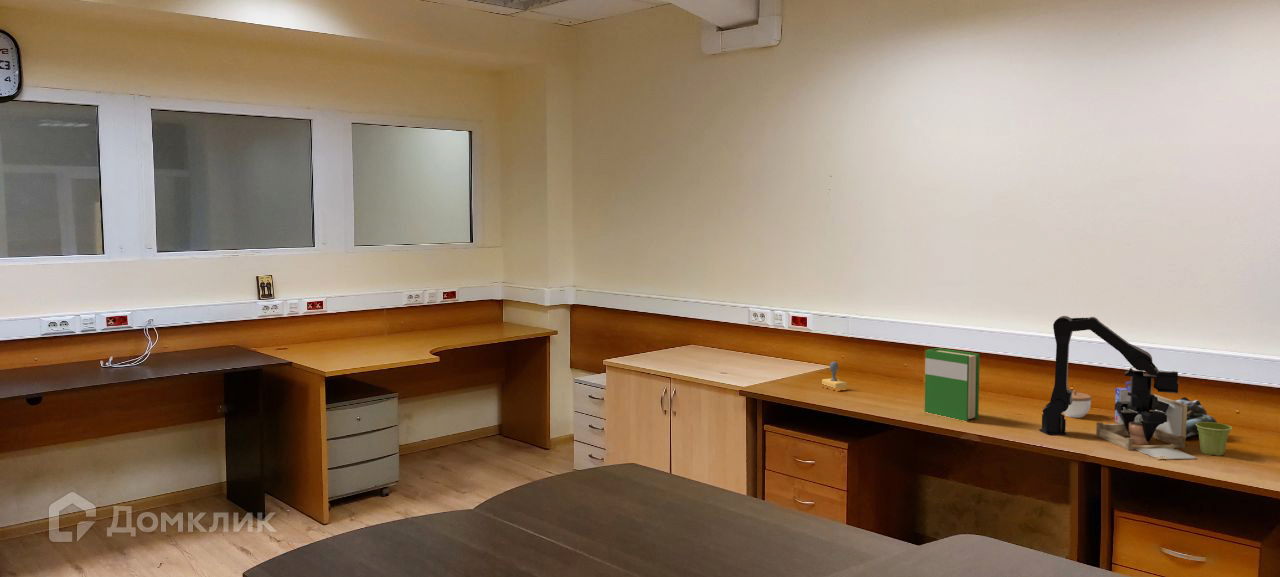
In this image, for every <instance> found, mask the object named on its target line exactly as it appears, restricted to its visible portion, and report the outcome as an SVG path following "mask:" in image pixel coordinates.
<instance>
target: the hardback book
mask: <svg viewBox="0 0 1280 577" xmlns="http://www.w3.org/2000/svg"><path fill="white" fill-rule="evenodd" d="M980 357H981V356H980V353H975V352H968V351H961V350H957V349H956V350H955V349H954V350H953V349H947V348H940V347H937V348H930V349H925V359H924V360H925V364H924V365H925V368H924V369H925V370H924V371H925V372H924V376H925V377H924V413H925V412H928V413H932V414H937V415H941V416H946V417H950V418H955V419H959V420H964V421H968V422H969V420H970V419H973V418H976V419H975V420H979V409H980V407H979V406H980V405H979V403H980V399H979V398H980V362H981V360H980ZM959 420H958V421H959Z"/></svg>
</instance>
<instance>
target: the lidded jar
mask: <svg viewBox="0 0 1280 577" xmlns="http://www.w3.org/2000/svg"><path fill="white" fill-rule="evenodd" d="M1072 400H1073V401H1072V403H1071V405H1069V407H1068V409H1067V410H1066V411H1065V412H1062V414H1063V415H1065V417H1067V416H1068V418H1074V419H1075V418H1076V419H1081V418H1084V416H1086V415H1087V414H1088V412H1089V411H1090V408H1091V405H1092V403H1091V402H1092V396H1091V395H1090V394H1087V393H1083V392H1077V390H1073V393H1072Z"/></svg>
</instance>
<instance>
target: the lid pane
mask: <svg viewBox="0 0 1280 577" xmlns="http://www.w3.org/2000/svg"><path fill="white" fill-rule="evenodd" d="M1152 394H1153V395H1154V396H1155V397H1157V399H1158V400H1159V401H1162V402H1164V403H1167V404H1169V407H1168V409H1167V412H1166V413H1165V414H1166V415H1167V422H1164V423H1163V424H1160V425H1159V426H1157V429H1159V430H1162V431H1165V432H1167V433H1170V434H1172V435H1175V436H1182V437H1185V440H1186V439H1187V438H1186V423H1187V405H1186V404H1183V403H1179V402H1176V400H1173V399H1170V398H1167V397H1164V396H1161V395H1158V394H1155V393H1152ZM1150 411H1151V410H1150ZM1155 411H1158V410H1155ZM1160 412H1163V411H1160ZM1163 413H1164V412H1163Z"/></svg>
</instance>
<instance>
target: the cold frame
mask: <svg viewBox="0 0 1280 577" xmlns="http://www.w3.org/2000/svg"><path fill="white" fill-rule="evenodd" d="M1095 434H1096V435H1095V437H1098V438H1100V439H1103V440H1106V441H1107V442H1109V443H1112V444H1115V445H1116V446H1119V447H1121V448H1124V449H1125V448H1126V449H1125V450H1127V449H1128V450H1127V451H1134V450H1133V449H1152V448H1177V449H1180V448H1183V449H1186V447H1185V446H1186V439H1185V437H1182V436H1175V435H1172V434H1170V433H1167V432H1165V431H1162V430H1159V429H1157V428H1156V430H1155V432H1154V434H1153V436H1152V438H1154V437H1155V438H1154V439H1156V438H1157V440H1159V439H1160V440H1159V441H1161V440H1163V441H1162V442H1164V441H1165V442H1164V443H1166V442H1168V443H1170V444H1168V443H1167V444H1155V445H1153V444H1151V445H1150V444H1144V445H1134V443H1133V439H1132V438H1130V434H1129V433H1128V431H1127V429H1126V427H1125V425H1124V424H1119V423H1103V422H1096V433H1095ZM1171 444H1173V445H1171Z"/></svg>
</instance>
